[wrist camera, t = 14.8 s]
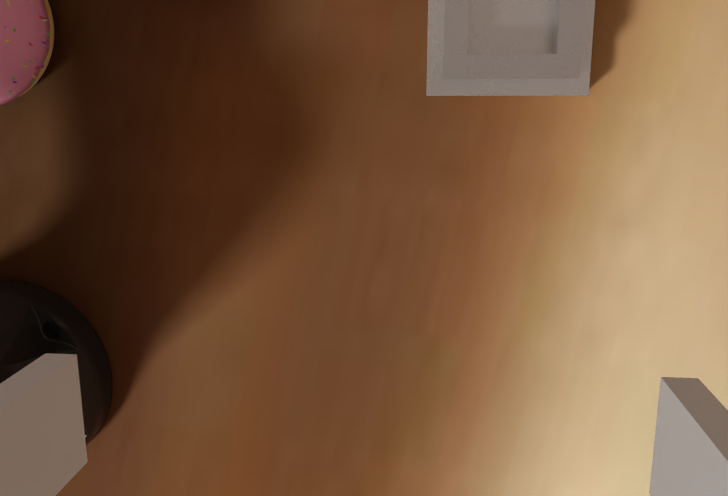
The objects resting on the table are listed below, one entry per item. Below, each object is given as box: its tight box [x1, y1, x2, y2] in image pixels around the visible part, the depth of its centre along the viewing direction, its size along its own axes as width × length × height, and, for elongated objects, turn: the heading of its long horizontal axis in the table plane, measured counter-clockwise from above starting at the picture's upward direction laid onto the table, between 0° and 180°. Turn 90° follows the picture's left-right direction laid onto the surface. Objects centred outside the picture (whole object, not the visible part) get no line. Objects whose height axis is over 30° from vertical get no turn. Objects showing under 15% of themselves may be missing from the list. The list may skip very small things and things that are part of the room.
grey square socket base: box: [427, 0, 595, 96], centre depth 42 cm, size 10×10×4 cm
